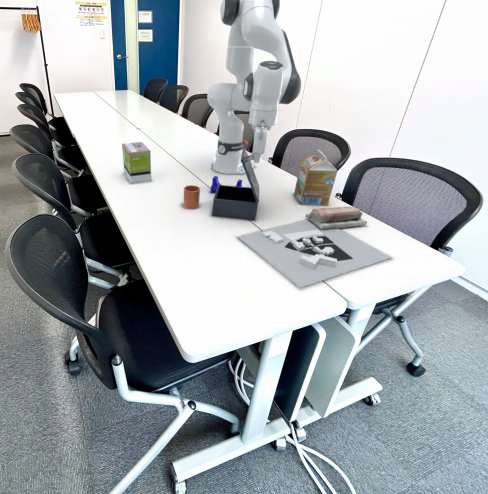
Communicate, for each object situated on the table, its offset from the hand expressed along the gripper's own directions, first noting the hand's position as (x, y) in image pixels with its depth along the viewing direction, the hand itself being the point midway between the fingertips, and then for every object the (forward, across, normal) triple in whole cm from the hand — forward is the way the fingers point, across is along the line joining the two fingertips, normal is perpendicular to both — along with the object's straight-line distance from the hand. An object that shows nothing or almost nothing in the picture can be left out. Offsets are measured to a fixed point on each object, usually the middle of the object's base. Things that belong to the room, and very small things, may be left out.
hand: (256, 159), depth 117 cm
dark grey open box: (+20, 0, +5) cm, 21 cm away
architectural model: (+20, -22, -20) cm, 36 cm away
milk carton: (+20, +17, -24) cm, 36 cm away
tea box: (+21, +24, +53) cm, 62 cm away
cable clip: (+20, +16, +10) cm, 28 cm away
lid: (+6, 0, +1) cm, 6 cm away
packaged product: (+20, -2, -30) cm, 36 cm away
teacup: (+20, 0, +22) cm, 30 cm away
